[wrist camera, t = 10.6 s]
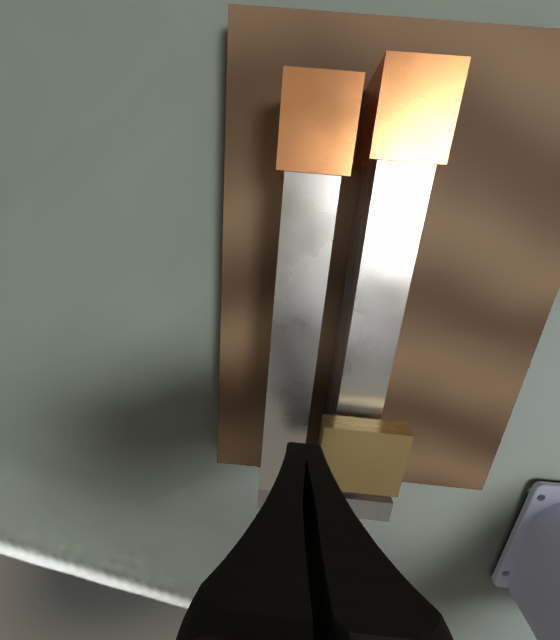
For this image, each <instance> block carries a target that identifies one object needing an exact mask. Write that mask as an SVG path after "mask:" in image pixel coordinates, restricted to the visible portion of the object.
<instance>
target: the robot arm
mask: <svg viewBox="0 0 560 640" xmlns="http://www.w3.org/2000/svg"><path fill="white" fill-rule="evenodd" d="M491 579H492V581H493V583H494V585H495V586H497V587H502V588H508V589H509V591H510V593H511V595H512V596H513V598H514V600H515V602H516V603H517V605H518V607H519V609H520V610H521V612H522V614H523V616H524V617H525V619H526V621H527V623H528V624H529V626H530V628H531V630H532V631H533V633H534V635H535V637H536V638H537V640H560V483H555V482H545V481H538V482H535V483H534V484H533V485H532V487H531V489H530V491H529V494H528V496H527V498H526V501H525V503H524V505H523V507H522V510H521V512H520V514H519V516H518V519H517V521H516V523H515V525H514V528H513V530H512V532H511V534H510V537H509V539H508V541H507V543H506V546H505V548H504V550H503V552H502V555H501V557H500V559H499V561H498V564H497V566H496V568H495V570H494V573H493V575H492V578H491ZM176 640H453V637H452V635H451V633H450V631H449V629H448V627H447V625H446V623H445V621H444V618H443V616H442V614H441V613H440V612H439V611H438V610H437V609H436V608H435V607H434V606H433V605H432V604H430V603H429V602H428V601H427V600H426V599H425V598H424V597H423V596H422V595H421V594H420V593H419V592H418V591H417V590H416V589H415V588H414V587H413V586H412V585H411V584H410V583H409V582H408V581H407V580H406V578H405V577H404V576H403V575H402V574H401V573H400V572H399V571H398V570H397V568H396V567H395V566H394V565H393V564H392V562H391V561H390V560H389V559H388V558H387V556H386V555H385V554H384V553H383V552H382V550H381V549H380V548H379V547H378V546H377V544H376V543H375V542H374V540H373V539H372V538H371V536H370V535H369V534H368V532H367V531H366V529H365V528H364V527H363V525H362V524H361V522H360V521H359V519H358V518H357V516H356V515H355V513H354V512H353V510H352V508H351V507H350V505H349V503H348V502H347V500H346V498H345V497H344V495H343V493H342V491H341V489H340V487H339V485H338V484H337V482H336V480H335V478H334V476H333V474H332V472H331V470H330V467H329V465H328V463H327V461H326V458H325V456H324V453H323V450H322V447H321V446H320V445H316V444H306V443H297V442H289V443H287V447H286V453H285V457H284V460H283V463H282V466H281V468H280V471H279V473H278V476H277V478H276V480H275V483H274V485H273V487H272V489H271V491H270V493H269V495H268V497H267V498H266V500H265V502H264V504H263V506H262V507H261V509H260V511H259V512H258V514H257V515H256V517H255V519H254V520H253V522H252V523H251V525H250V526H249V528H248V529H247V530H246V532H245V533H244V535H243V536H242V537H241V539H240V540H239V541H238V543H237V544H236V545H235V546H234V548H233V549H232V550H231V551H230V553H229V554H228V555H227V556H226V558H225V559H224V560H223V561H222V562H221V563H220V565H219V566H218V567H217V568H216V569H215V570H214V571H213V572H212V573H211V574H210V575H209V576H208V578H207V579H206V580H205V581H204V582H203V583H202V584H201V585H200V587H199V589H198V591H197V593H196V595H195V596H194V598H193V600H192V602H191V604H190V606H189V608H188V610H187V612H186V614H185V617H184V619H183V621H182V624H181V626H180V629H179V632H178V635H177V638H176Z"/></svg>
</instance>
